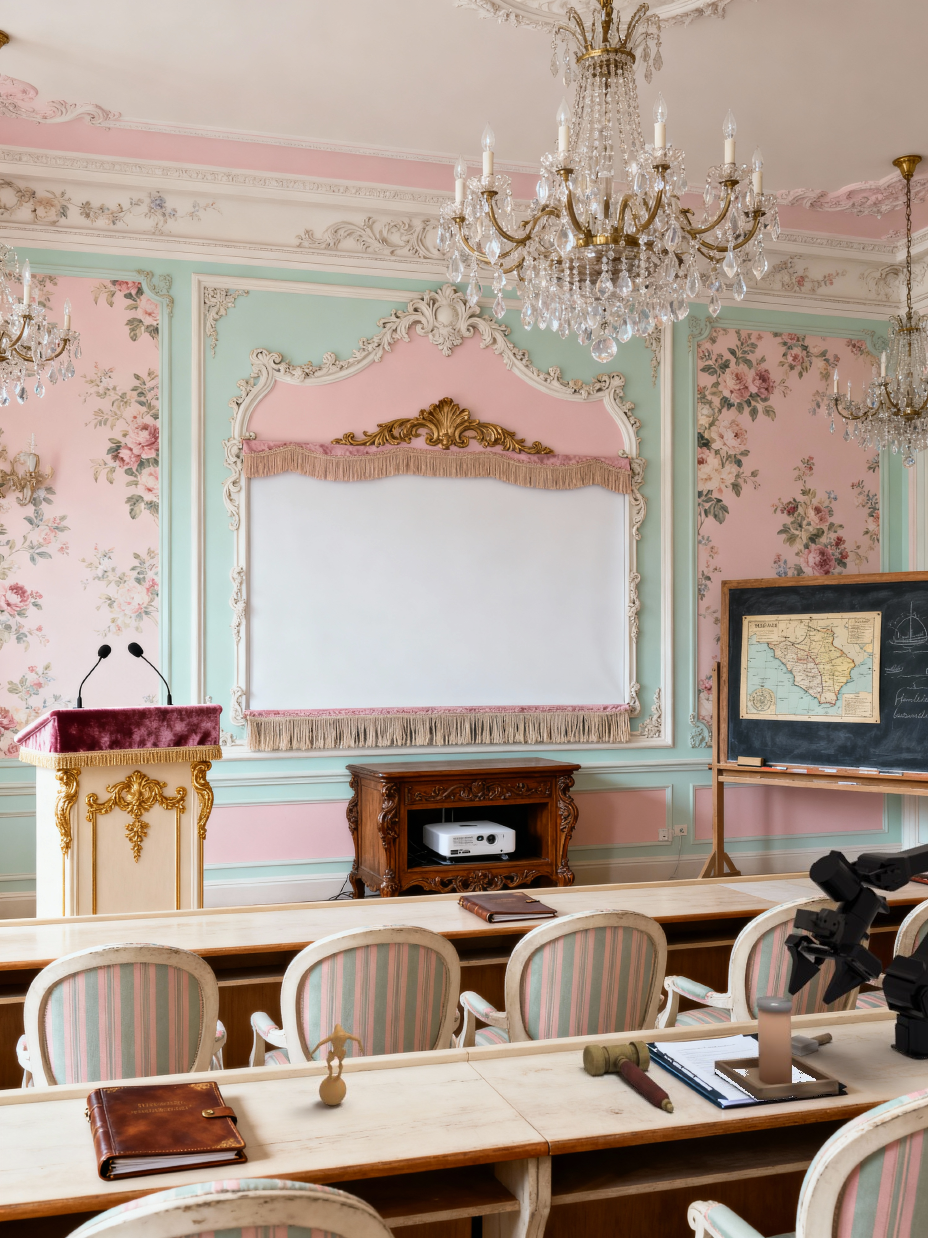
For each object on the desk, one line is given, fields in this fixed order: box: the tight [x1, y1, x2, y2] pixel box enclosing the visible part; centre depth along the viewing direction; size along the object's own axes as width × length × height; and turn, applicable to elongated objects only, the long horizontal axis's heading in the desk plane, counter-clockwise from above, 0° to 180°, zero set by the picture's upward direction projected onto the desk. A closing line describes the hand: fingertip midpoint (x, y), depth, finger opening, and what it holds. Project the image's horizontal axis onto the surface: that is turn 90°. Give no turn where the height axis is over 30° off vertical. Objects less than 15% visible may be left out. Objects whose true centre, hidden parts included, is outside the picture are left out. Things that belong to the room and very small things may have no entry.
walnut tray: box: [714, 1054, 839, 1101], centre depth 164 cm, size 14×13×2 cm
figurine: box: [307, 1023, 365, 1106], centre depth 152 cm, size 8×6×12 cm
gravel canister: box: [755, 995, 793, 1085], centre depth 164 cm, size 5×5×12 cm
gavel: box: [582, 1040, 675, 1113], centre depth 161 cm, size 21×5×10 cm
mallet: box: [791, 1032, 833, 1057], centre depth 182 cm, size 11×4×2 cm, turn 127°
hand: (807, 998), depth 170 cm, fingers open, 9 cm apart
